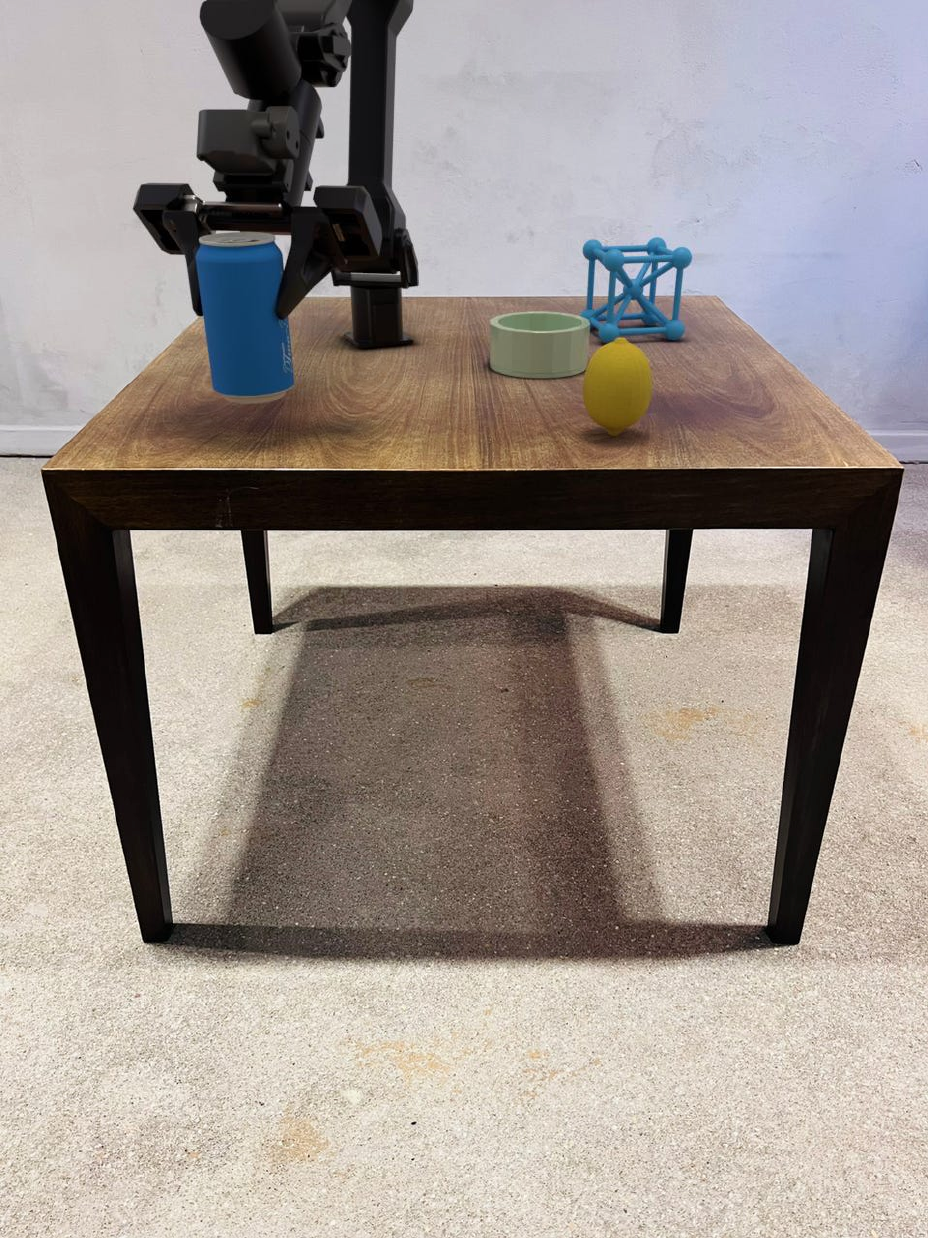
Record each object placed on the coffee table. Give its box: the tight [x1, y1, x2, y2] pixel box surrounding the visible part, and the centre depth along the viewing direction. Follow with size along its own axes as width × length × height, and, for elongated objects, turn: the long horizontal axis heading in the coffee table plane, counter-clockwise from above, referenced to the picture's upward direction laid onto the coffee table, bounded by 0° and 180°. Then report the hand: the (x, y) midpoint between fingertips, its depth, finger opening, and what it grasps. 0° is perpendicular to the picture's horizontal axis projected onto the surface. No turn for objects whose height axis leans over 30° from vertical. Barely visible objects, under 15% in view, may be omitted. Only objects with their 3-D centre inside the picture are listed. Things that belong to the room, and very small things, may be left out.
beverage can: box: [196, 231, 295, 405], centre depth 77 cm, size 6×6×12 cm
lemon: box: [582, 336, 653, 436], centre depth 79 cm, size 6×6×8 cm
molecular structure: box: [579, 236, 693, 345], centre depth 111 cm, size 10×10×10 cm
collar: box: [489, 310, 591, 380], centre depth 100 cm, size 10×10×4 cm
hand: (238, 314), depth 75 cm, fingers closed on beverage can, 6 cm apart
